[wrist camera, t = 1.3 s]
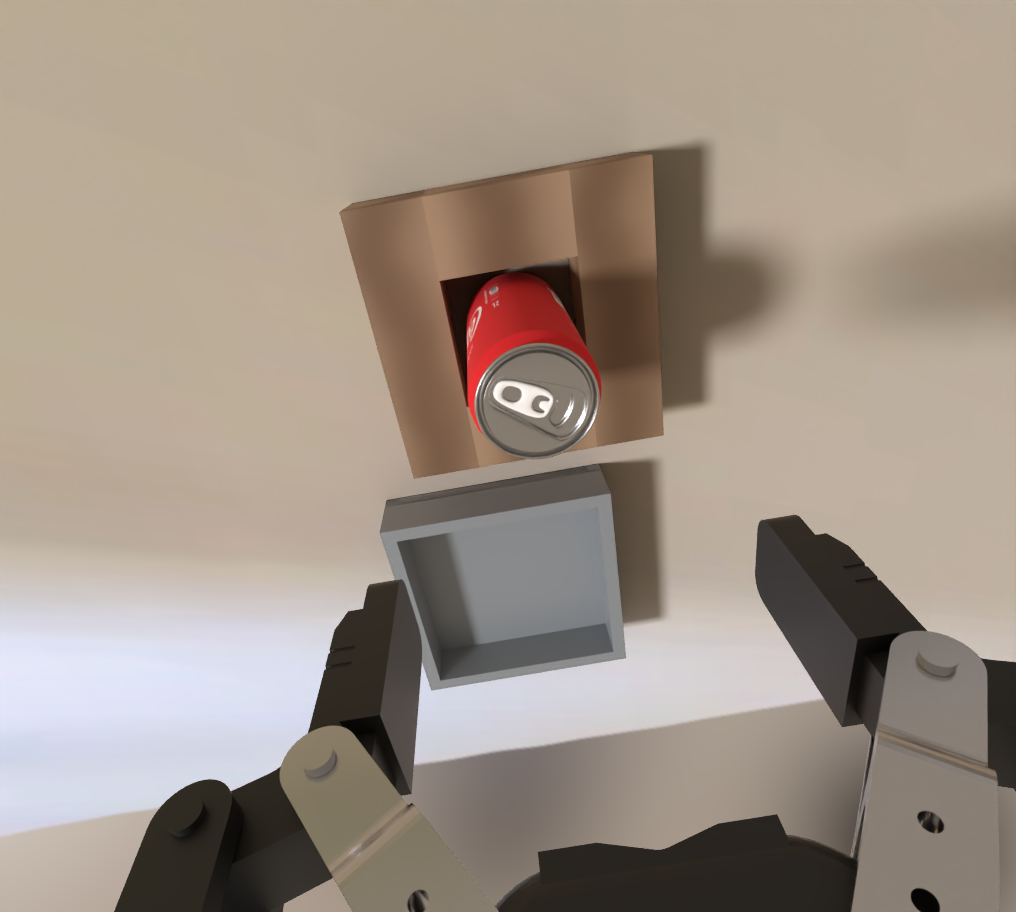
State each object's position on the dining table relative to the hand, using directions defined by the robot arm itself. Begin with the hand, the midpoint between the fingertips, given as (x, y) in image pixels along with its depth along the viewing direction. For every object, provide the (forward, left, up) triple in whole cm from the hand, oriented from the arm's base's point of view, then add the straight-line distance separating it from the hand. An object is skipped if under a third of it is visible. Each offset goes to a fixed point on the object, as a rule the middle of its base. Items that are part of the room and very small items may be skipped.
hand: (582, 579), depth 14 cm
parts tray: (+3, +17, -22) cm, 28 cm away
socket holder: (0, 0, -22) cm, 22 cm away
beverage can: (0, 0, -22) cm, 22 cm away
